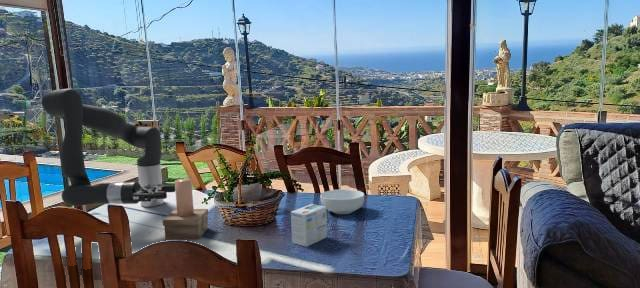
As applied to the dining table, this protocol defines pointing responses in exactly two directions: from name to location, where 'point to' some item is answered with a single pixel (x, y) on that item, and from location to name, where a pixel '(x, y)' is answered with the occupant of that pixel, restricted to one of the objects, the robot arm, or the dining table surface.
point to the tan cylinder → (184, 197)
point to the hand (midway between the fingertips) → (170, 192)
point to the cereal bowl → (342, 200)
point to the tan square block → (186, 225)
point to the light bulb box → (309, 224)
